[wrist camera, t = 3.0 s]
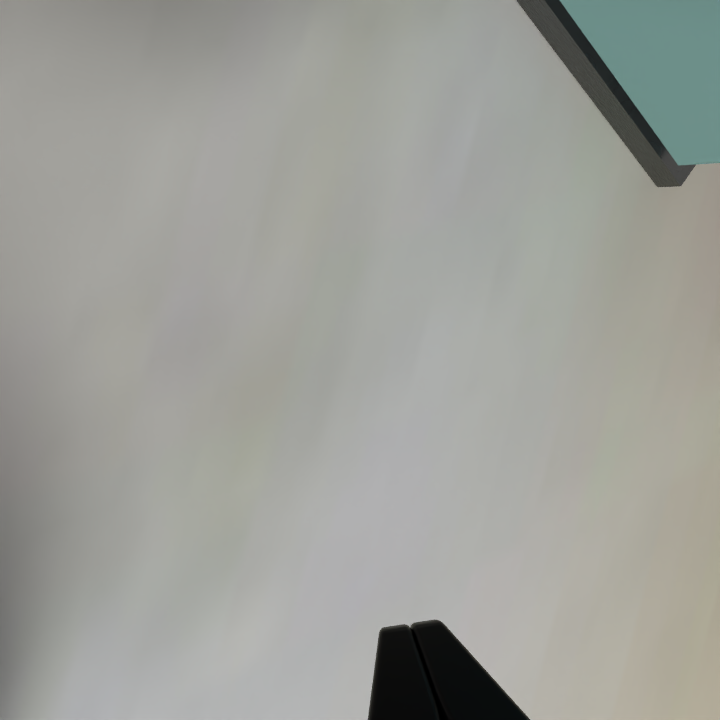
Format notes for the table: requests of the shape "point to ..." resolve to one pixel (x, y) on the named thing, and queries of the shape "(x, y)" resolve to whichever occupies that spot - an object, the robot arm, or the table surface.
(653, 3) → the teal square panel
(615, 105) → the grey square frame stand
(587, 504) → the table surface
